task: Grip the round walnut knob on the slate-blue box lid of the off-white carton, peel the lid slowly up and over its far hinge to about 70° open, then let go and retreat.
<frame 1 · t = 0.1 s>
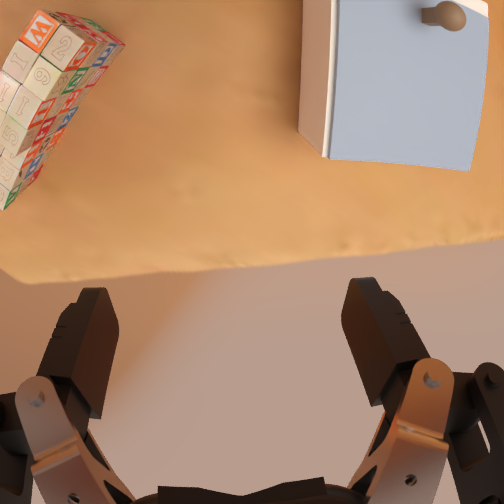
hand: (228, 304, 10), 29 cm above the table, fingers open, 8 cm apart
box lid: (436, 78, 21), point 13 cm above the table, hinge at 0.0°
carton: (374, 59, 31), on the table
stack of blocks: (57, 102, 30), on the table
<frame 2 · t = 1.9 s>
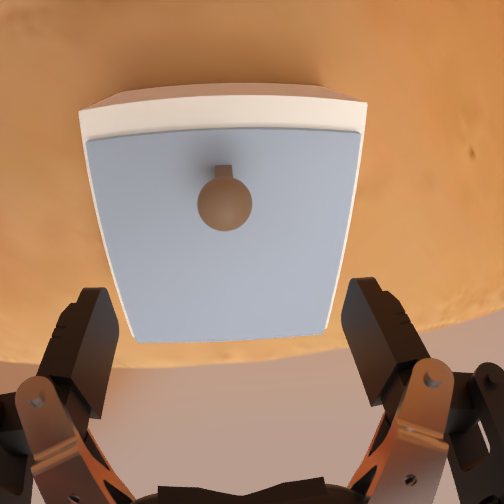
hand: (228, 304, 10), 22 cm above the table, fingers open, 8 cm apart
box lid: (227, 278, 21), point 13 cm above the table, hinge at 0.0°
carton: (223, 185, 31), on the table
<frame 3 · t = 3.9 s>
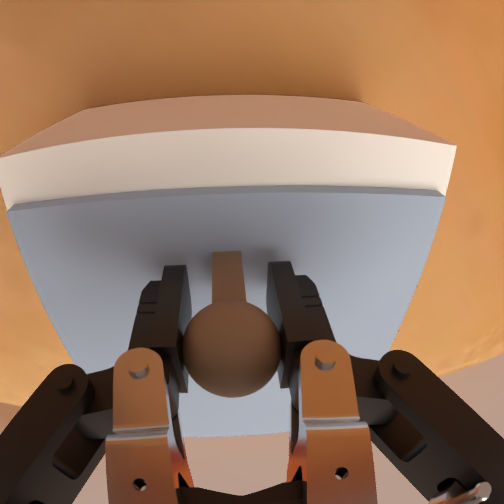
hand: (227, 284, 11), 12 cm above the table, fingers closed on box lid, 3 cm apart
box lid: (234, 405, 13), point 13 cm above the table, hinge at 0.0°, touching gripper
carton: (225, 235, 23), on the table
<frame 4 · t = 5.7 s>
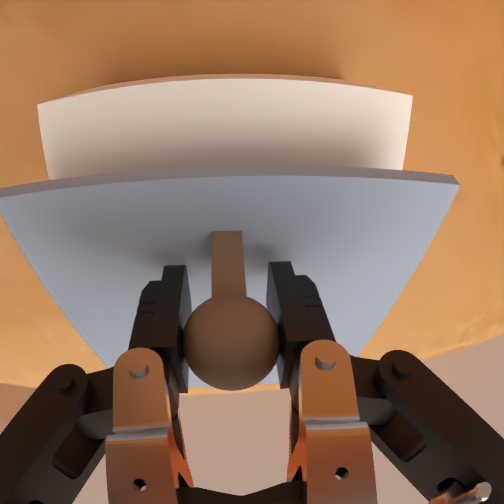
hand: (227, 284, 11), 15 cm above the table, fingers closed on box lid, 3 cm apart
box lid: (232, 370, 14), point 15 cm above the table, hinge at 14.8°, touching gripper
carton: (225, 198, 26), on the table
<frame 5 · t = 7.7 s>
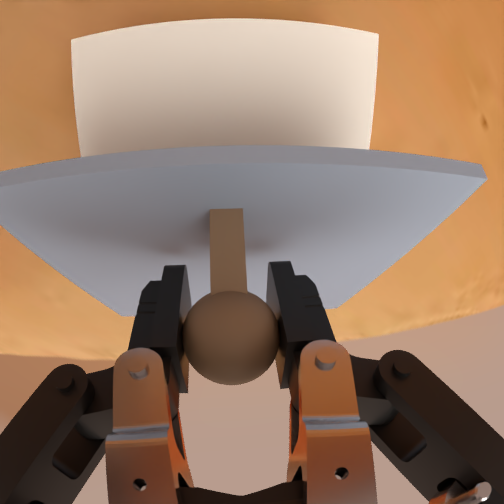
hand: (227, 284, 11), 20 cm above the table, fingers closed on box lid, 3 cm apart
box lid: (229, 323, 15), point 18 cm above the table, hinge at 35.0°, touching gripper
carton: (224, 144, 28), on the table
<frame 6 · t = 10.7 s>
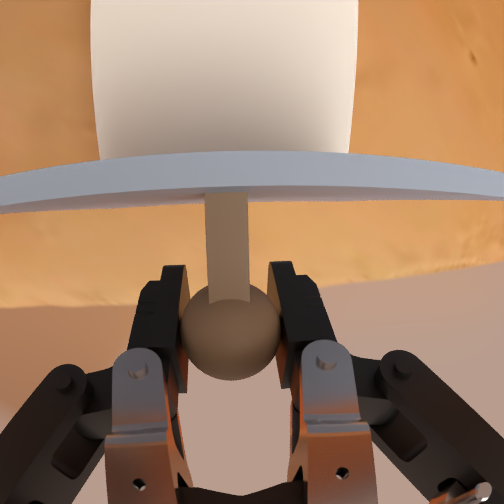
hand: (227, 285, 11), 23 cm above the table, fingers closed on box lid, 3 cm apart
box lid: (226, 250, 14), point 20 cm above the table, hinge at 65.0°, touching gripper
carton: (223, 60, 26), on the table
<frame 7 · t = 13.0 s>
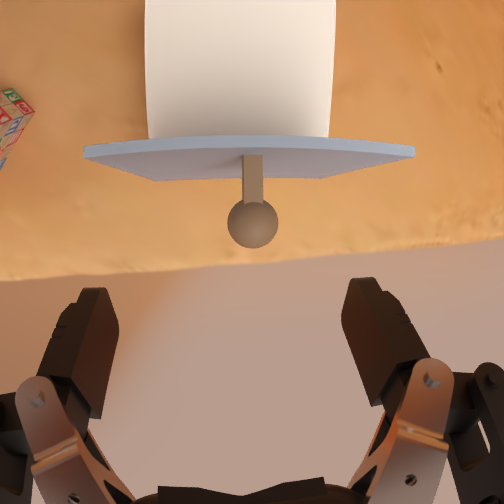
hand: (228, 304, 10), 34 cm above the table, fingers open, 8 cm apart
box lid: (245, 198, 24), point 20 cm above the table, hinge at 65.5°
carton: (236, 74, 35), on the table
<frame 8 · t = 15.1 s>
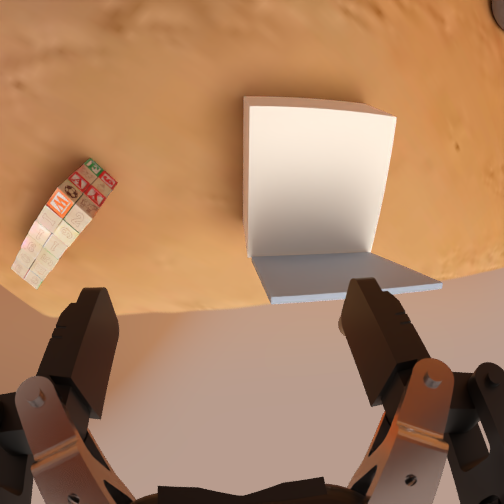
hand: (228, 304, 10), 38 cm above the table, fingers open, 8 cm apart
box lid: (333, 292, 36), point 20 cm above the table, hinge at 65.5°
carton: (302, 162, 47), on the table
smart speaker: (501, 13, 31), on the table
stack of blocks: (69, 211, 48), on the table
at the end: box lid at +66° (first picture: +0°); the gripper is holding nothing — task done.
